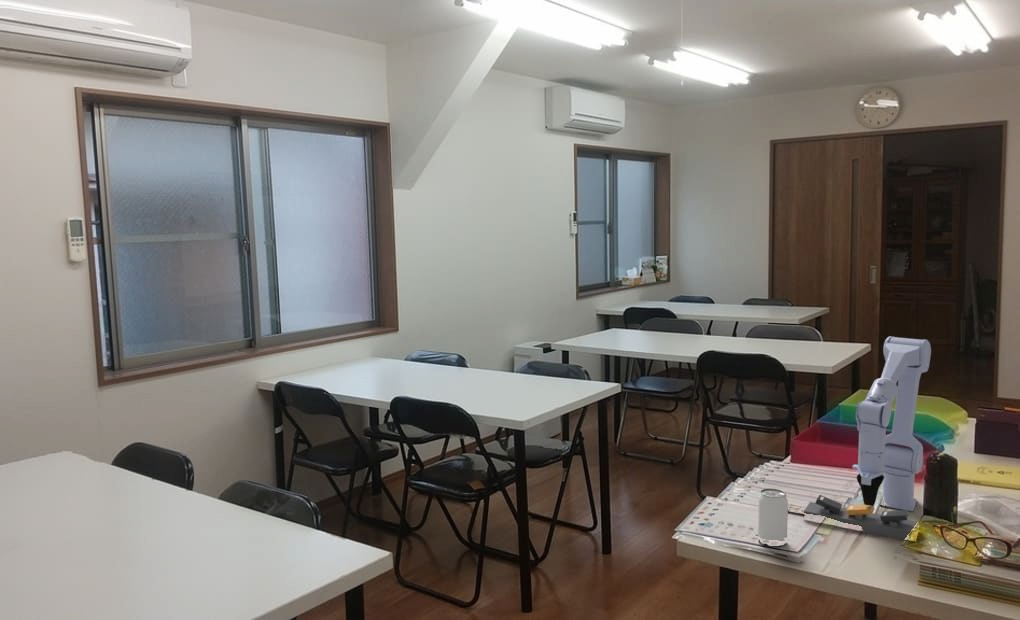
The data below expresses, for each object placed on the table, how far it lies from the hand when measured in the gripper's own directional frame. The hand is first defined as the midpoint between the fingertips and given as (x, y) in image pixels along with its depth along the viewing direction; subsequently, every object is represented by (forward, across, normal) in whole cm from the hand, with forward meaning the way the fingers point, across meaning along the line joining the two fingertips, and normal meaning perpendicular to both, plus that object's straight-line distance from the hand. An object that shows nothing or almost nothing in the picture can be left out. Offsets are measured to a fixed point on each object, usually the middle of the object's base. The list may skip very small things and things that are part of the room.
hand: (869, 504), depth 182 cm
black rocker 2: (+2, 0, +6) cm, 6 cm away
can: (+6, +20, -18) cm, 27 cm away
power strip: (+6, 0, -4) cm, 7 cm away
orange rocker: (+2, 0, -2) cm, 3 cm away
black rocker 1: (+2, 0, -9) cm, 10 cm away
